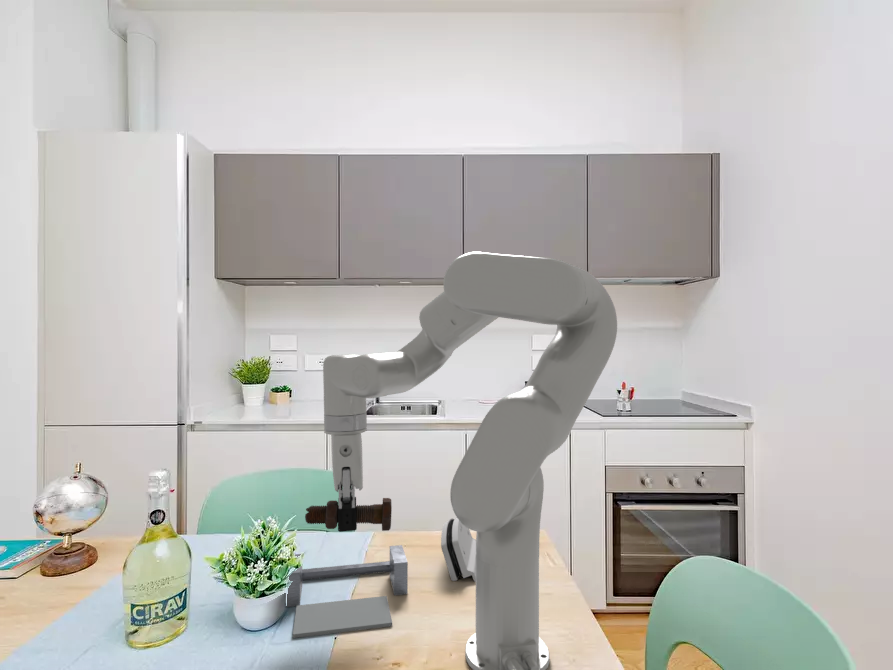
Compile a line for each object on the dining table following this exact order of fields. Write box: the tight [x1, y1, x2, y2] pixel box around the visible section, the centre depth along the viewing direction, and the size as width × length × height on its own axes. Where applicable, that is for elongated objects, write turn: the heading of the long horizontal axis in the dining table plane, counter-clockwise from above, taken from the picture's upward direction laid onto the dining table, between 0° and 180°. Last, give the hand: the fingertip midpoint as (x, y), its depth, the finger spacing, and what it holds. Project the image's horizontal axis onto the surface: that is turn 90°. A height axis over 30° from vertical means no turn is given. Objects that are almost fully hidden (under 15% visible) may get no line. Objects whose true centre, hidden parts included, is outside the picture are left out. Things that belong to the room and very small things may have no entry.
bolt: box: [304, 497, 393, 532], centre depth 93 cm, size 6×5×15 cm
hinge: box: [440, 517, 476, 583], centre depth 110 cm, size 17×5×10 cm, turn 173°
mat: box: [292, 595, 393, 639], centre depth 89 cm, size 9×16×1 cm, turn 103°
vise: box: [286, 544, 409, 608], centre depth 100 cm, size 11×22×6 cm, turn 102°
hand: (347, 523), depth 93 cm, fingers closed on bolt, 5 cm apart
